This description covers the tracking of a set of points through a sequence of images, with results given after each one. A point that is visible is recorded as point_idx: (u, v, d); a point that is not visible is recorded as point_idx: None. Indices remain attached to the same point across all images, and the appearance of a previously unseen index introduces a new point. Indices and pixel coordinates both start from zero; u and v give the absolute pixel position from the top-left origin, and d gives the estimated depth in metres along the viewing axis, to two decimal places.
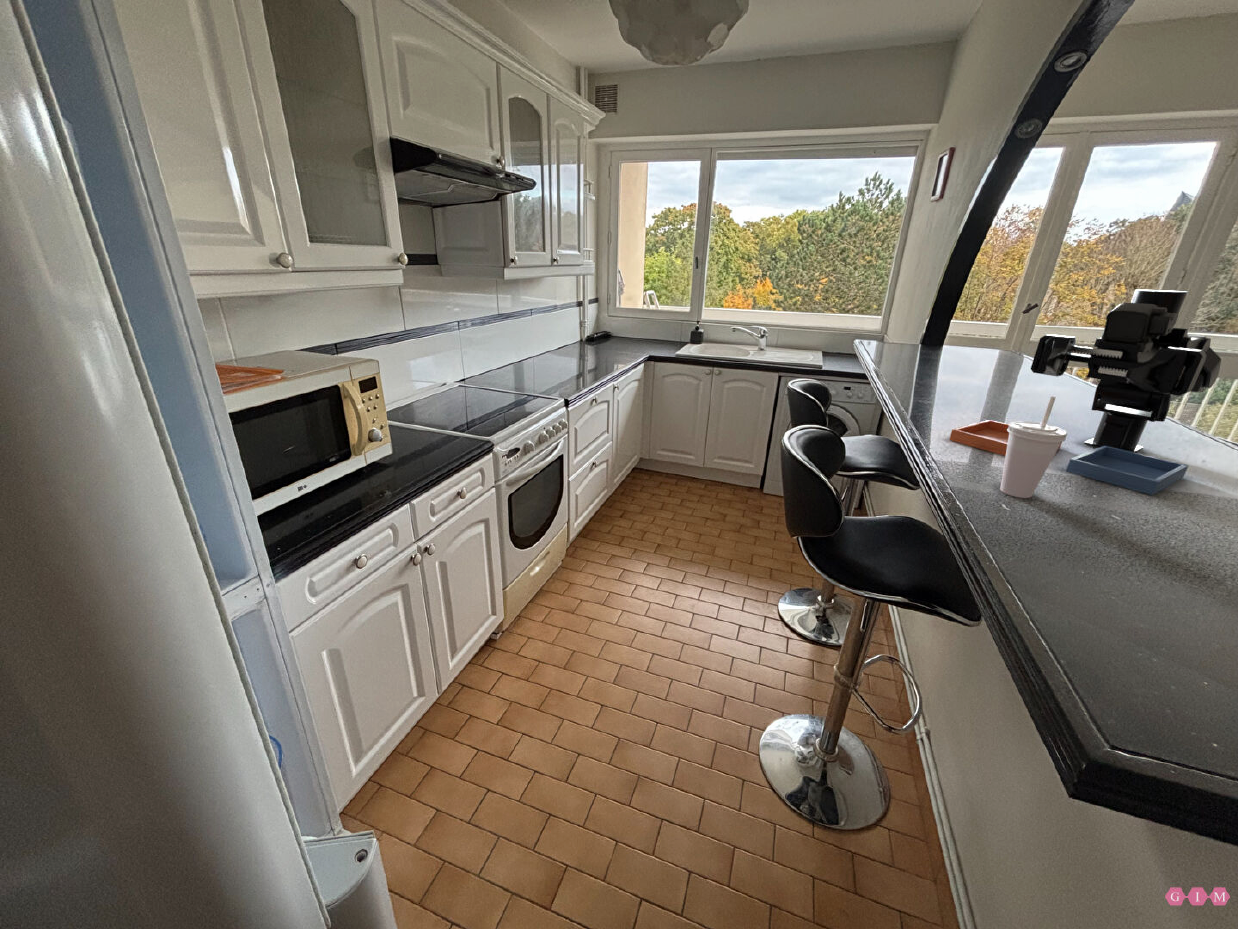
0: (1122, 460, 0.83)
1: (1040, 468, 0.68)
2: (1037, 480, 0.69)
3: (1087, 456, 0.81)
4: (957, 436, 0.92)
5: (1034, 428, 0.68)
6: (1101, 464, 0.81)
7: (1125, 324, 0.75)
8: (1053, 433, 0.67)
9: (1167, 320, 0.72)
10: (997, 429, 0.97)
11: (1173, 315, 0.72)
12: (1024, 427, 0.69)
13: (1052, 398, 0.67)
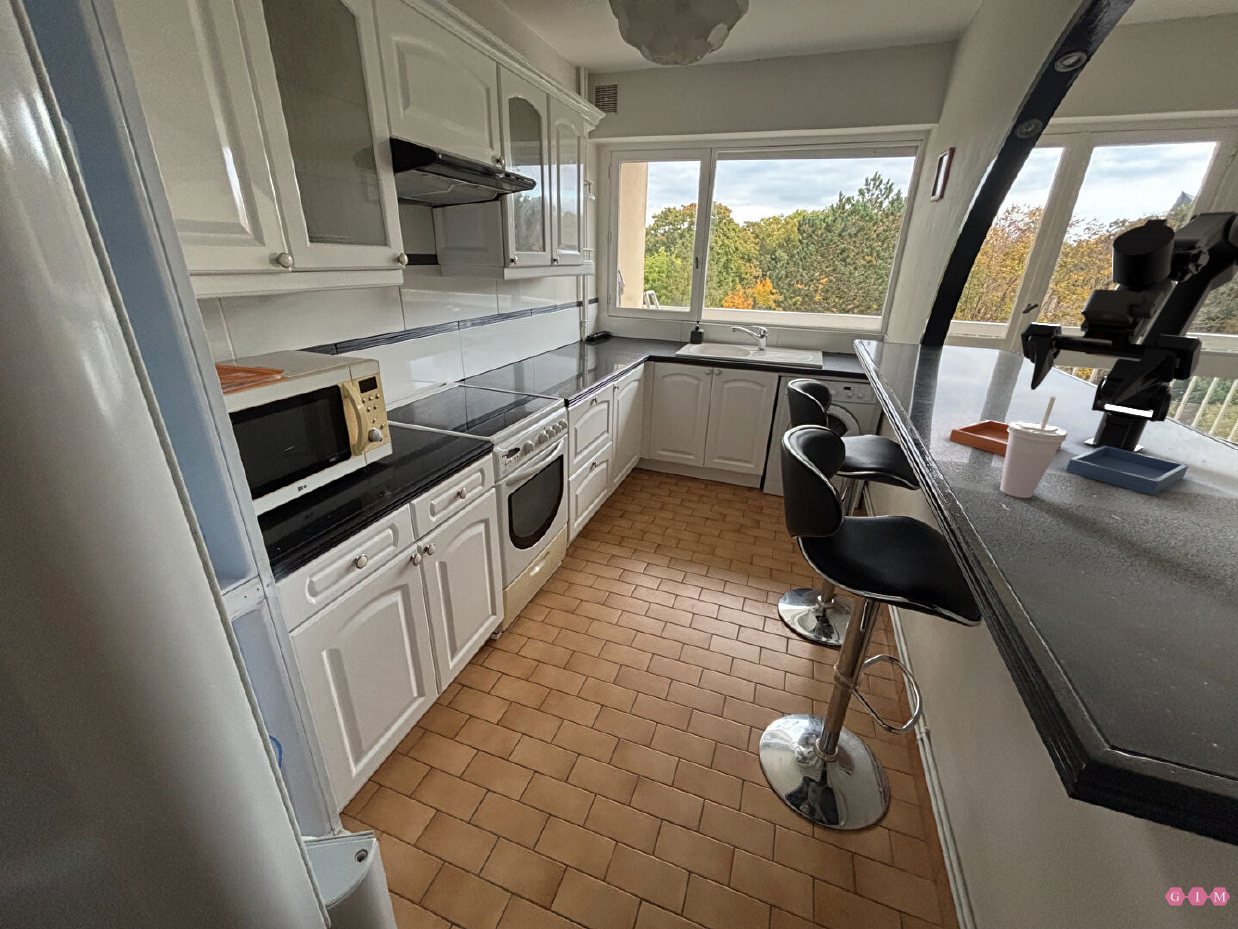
0: (1122, 460, 0.83)
1: (1040, 468, 0.68)
2: (1037, 480, 0.69)
3: (1087, 456, 0.81)
4: (957, 436, 0.92)
5: (1034, 428, 0.68)
6: (1101, 464, 0.81)
7: (1104, 316, 0.68)
8: (1053, 433, 0.67)
9: (1148, 312, 0.65)
10: (997, 429, 0.97)
11: (1153, 302, 0.64)
12: (1024, 427, 0.69)
13: (1052, 398, 0.67)
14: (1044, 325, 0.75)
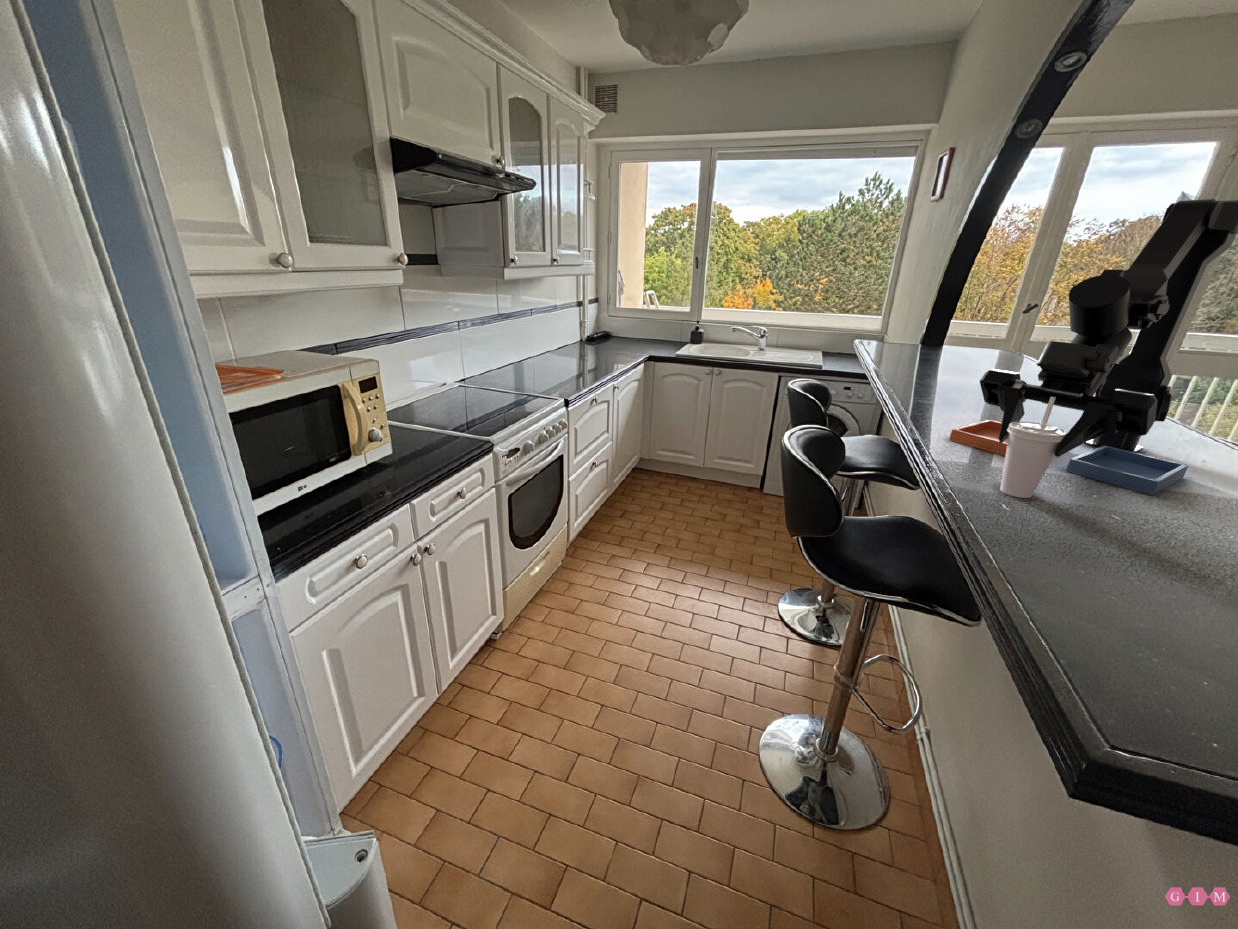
0: (1122, 460, 0.83)
1: (1040, 468, 0.68)
2: (1037, 480, 0.69)
3: (1087, 456, 0.81)
4: (957, 436, 0.92)
5: (1034, 428, 0.68)
6: (1101, 464, 0.81)
7: (1060, 368, 0.66)
8: (1053, 433, 0.67)
9: (1102, 367, 0.63)
10: (997, 429, 0.97)
11: (1108, 358, 0.62)
12: (1024, 427, 0.69)
13: (1052, 398, 0.67)
14: (1002, 373, 0.73)
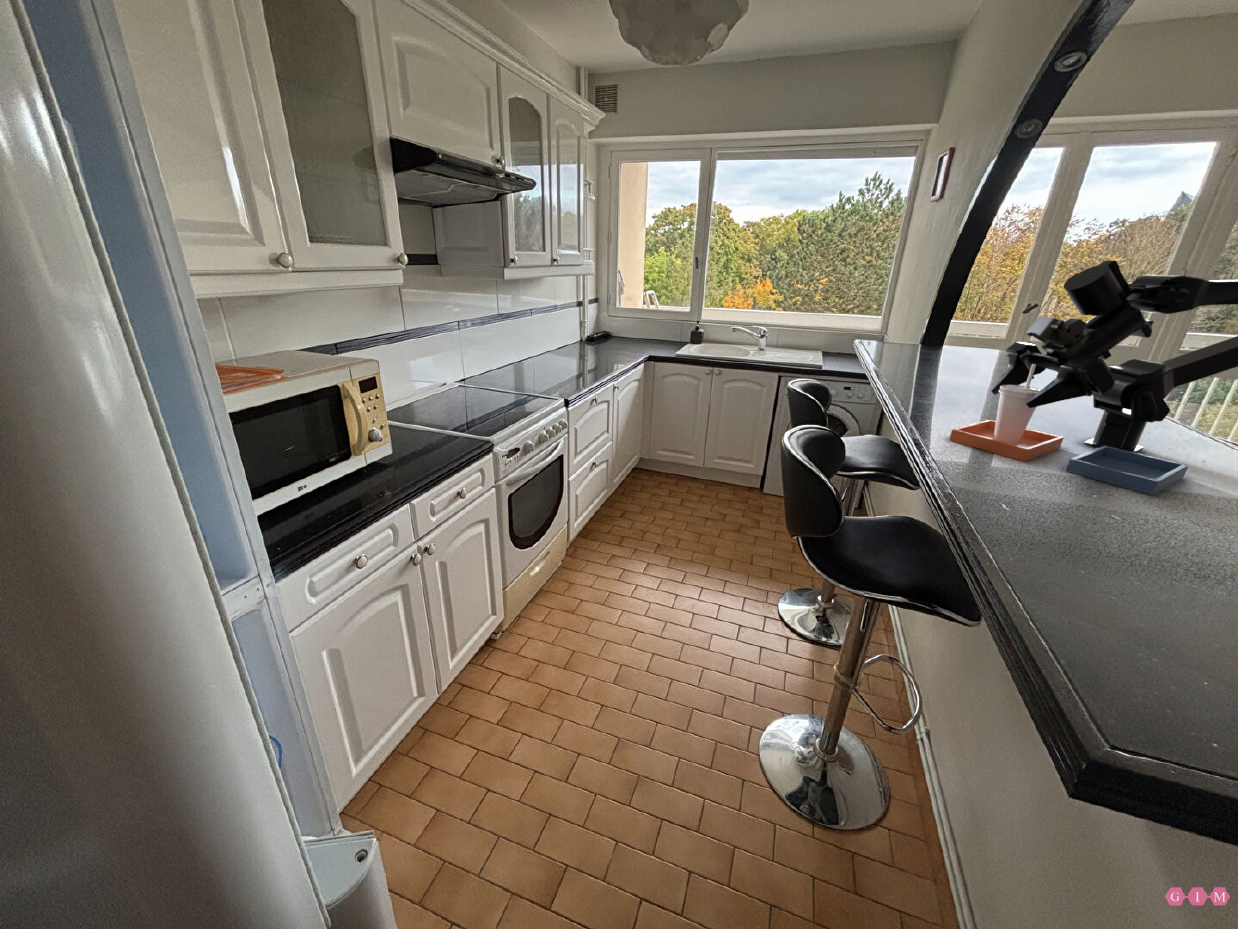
0: (1122, 460, 0.83)
1: (1014, 419, 0.88)
2: (1014, 429, 0.89)
3: (1087, 456, 0.81)
4: (957, 436, 0.92)
5: (1016, 388, 0.88)
6: (1101, 464, 0.81)
7: (1044, 338, 0.85)
8: (1026, 391, 0.86)
9: (1062, 335, 0.81)
10: None
11: (1066, 328, 0.80)
12: (1009, 387, 0.89)
13: (1032, 365, 0.86)
14: (1021, 344, 0.92)
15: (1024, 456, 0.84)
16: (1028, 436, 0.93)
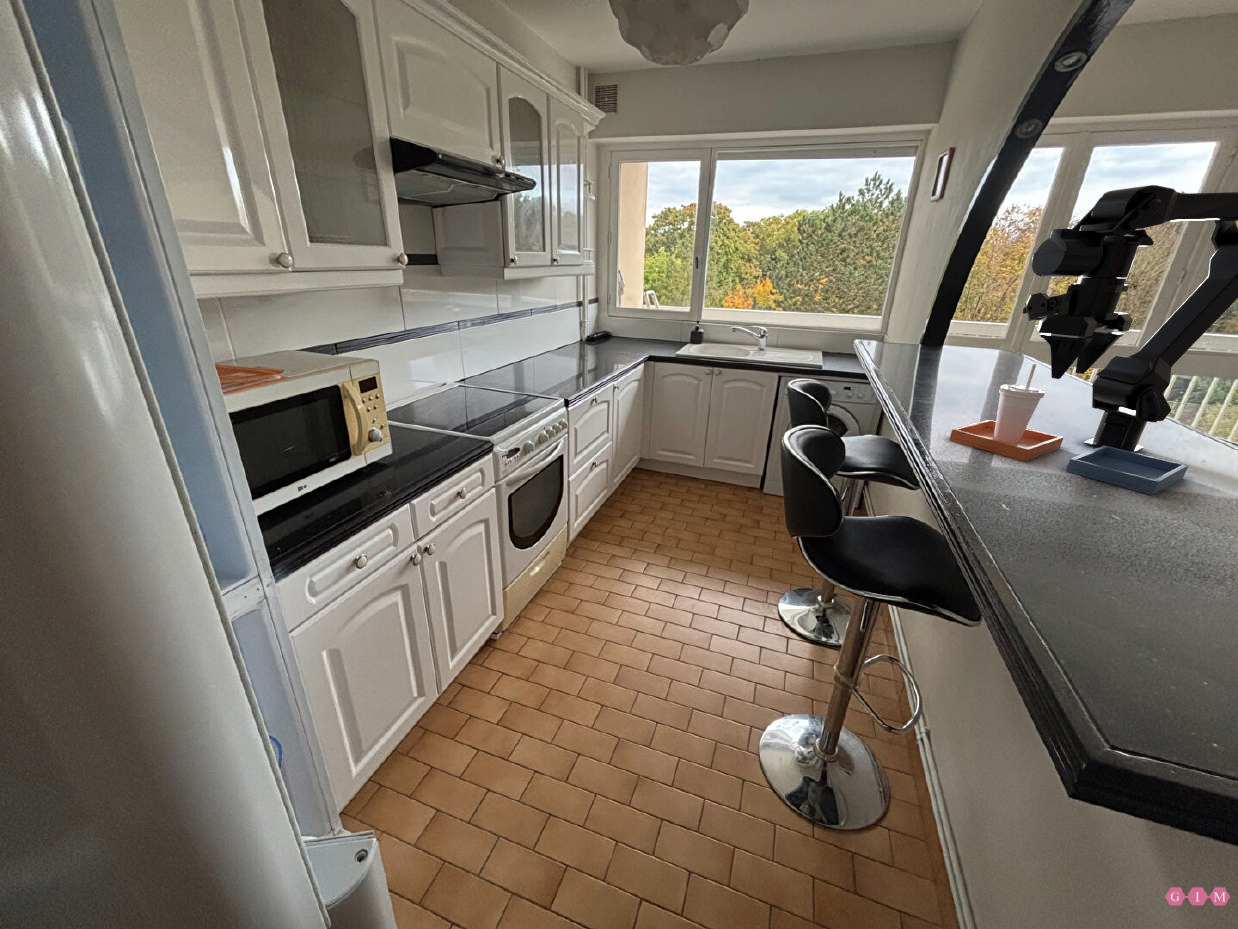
0: (1122, 460, 0.83)
1: (1014, 419, 0.88)
2: (1014, 429, 0.89)
3: (1087, 456, 0.81)
4: (957, 436, 0.92)
5: (1016, 388, 0.88)
6: (1101, 464, 0.81)
7: None
8: (1026, 391, 0.86)
9: (1030, 313, 0.85)
10: None
11: (1026, 307, 0.85)
12: (1009, 387, 0.89)
13: (1032, 365, 0.86)
14: None
15: (1024, 456, 0.84)
16: (1028, 436, 0.93)
